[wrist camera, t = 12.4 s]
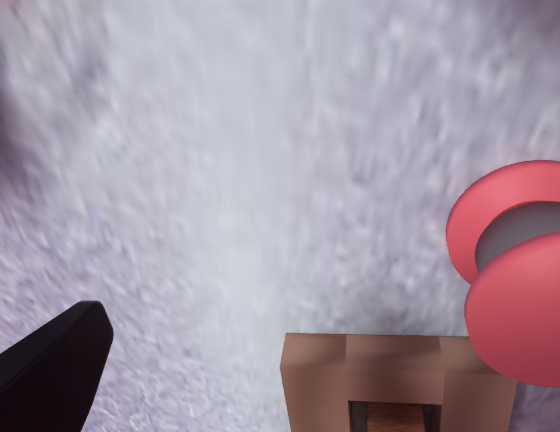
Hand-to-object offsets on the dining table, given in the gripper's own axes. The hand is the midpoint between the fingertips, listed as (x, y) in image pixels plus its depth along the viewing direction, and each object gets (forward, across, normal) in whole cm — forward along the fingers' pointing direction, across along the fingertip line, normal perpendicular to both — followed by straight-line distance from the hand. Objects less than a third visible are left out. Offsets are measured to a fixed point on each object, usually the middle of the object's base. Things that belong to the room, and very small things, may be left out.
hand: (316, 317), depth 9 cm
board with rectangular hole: (+13, -2, +20) cm, 24 cm away
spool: (+13, -8, +7) cm, 17 cm away
